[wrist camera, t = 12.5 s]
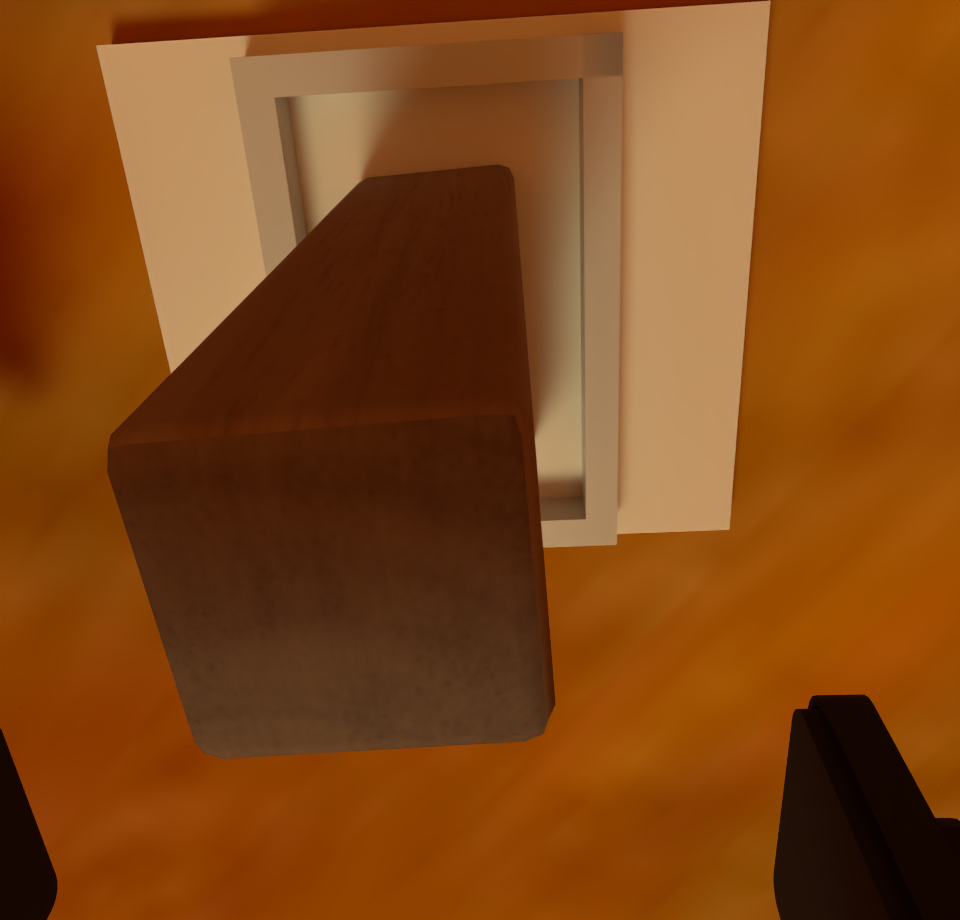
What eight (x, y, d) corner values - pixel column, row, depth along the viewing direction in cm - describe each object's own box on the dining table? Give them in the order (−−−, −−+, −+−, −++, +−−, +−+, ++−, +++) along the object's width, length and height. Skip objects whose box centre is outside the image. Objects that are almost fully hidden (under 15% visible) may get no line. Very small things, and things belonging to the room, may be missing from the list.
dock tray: (760, 2, 23) (787, -2, 21) (722, 515, 30) (740, 552, 28) (111, 44, 24) (71, 45, 22) (219, 534, 31) (197, 573, 29)
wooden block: (535, 447, 28) (578, 992, 12) (400, 458, 29) (266, 1004, 13) (512, 161, 24) (531, 404, 8) (355, 177, 25) (79, 441, 9)
